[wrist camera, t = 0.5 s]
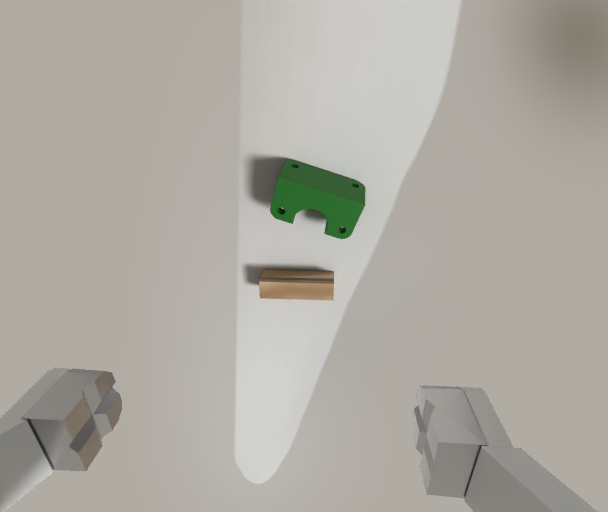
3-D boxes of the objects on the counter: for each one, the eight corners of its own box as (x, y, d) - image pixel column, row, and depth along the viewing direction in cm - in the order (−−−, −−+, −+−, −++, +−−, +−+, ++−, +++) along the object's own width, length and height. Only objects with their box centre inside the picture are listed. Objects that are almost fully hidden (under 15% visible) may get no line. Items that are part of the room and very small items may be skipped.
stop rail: (263, 268, 54) (258, 279, 51) (333, 270, 54) (333, 281, 50) (264, 286, 56) (260, 298, 53) (333, 288, 55) (333, 300, 52)
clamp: (293, 187, 53) (257, 209, 46) (304, 152, 49) (266, 170, 43) (361, 227, 50) (333, 256, 44) (378, 192, 46) (350, 218, 40)
